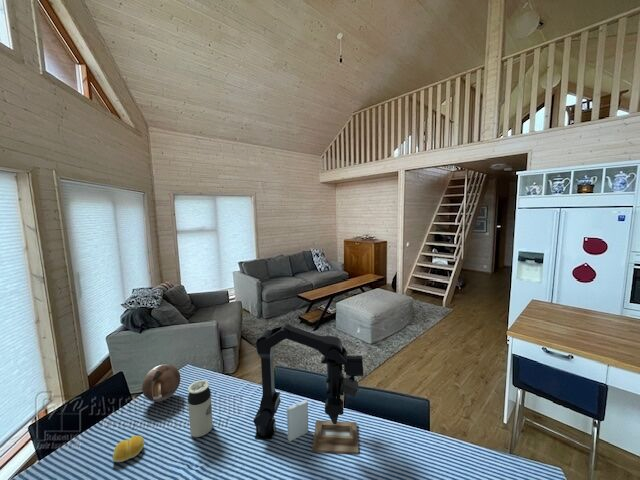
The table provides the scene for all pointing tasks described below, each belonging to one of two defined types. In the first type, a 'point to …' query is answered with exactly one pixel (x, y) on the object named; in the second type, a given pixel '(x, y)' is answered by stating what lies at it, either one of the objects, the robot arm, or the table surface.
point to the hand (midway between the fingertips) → (335, 413)
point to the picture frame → (335, 437)
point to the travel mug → (200, 408)
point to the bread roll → (128, 448)
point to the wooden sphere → (161, 382)
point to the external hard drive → (297, 420)
